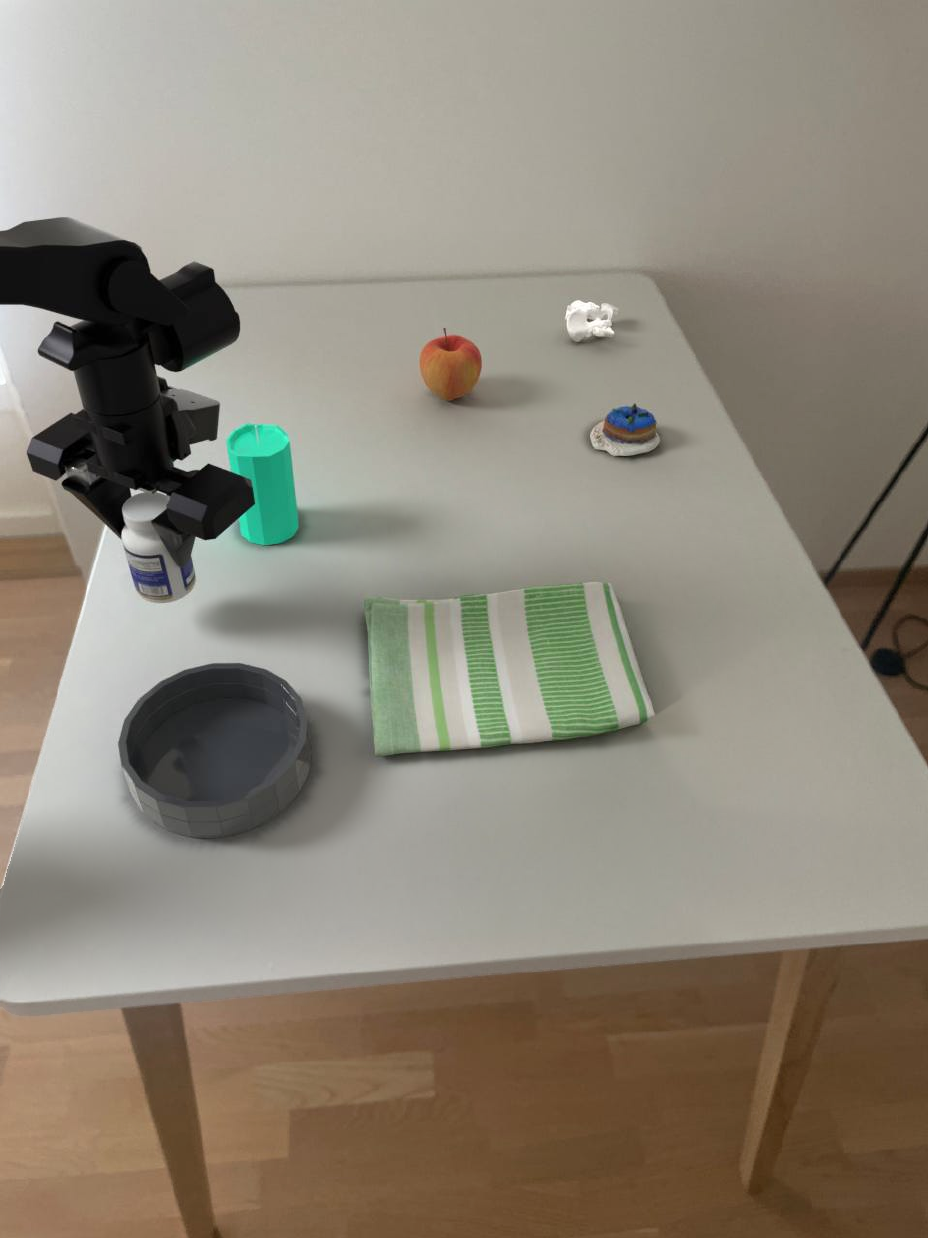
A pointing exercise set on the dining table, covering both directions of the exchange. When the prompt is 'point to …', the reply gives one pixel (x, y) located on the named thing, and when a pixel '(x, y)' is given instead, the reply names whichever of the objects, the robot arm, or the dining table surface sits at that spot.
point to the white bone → (582, 311)
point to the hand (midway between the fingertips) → (158, 553)
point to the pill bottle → (152, 552)
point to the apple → (450, 366)
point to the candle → (265, 482)
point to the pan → (216, 749)
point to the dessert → (626, 432)
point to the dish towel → (501, 669)
